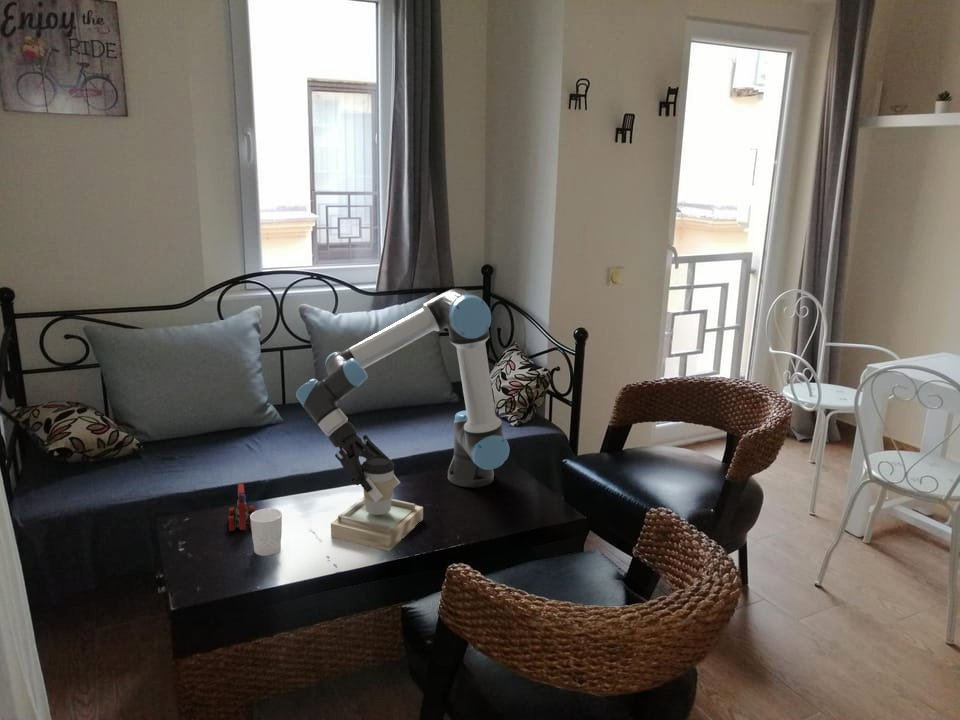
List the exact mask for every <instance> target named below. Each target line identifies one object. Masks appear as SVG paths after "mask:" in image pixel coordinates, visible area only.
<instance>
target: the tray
mask: <svg viewBox="0 0 960 720" xmlns="http://www.w3.org/2000/svg"><path fill="white" fill-rule="evenodd" d="M423 520H424V507H423V506H420V505H417V504H416V503H413V502H408V501H403V500H399V499H394V498H391V510H390V511H389V512H388V513H386V514H381V515H374V514H370V513H368V512H367V511H366V505H365V497H364V496H363V497H362V498H360V499H359V500H358V501H357V502H355V503H354V504H352V505H351V506H350V507H348V508H347V509H345V510H343V512H342V513H340V514H339V515H338V516H337V518H336V519H335V520H333V521H332V522H331V523H330V537H331V538H334V537H335V539H339V540H342V539H343V541H347V542H350V543H353V544H354V543H355V544H359V545H363V546H366V547H371V548H375V549H378V550H382V551H386V552H390V551H391V550H392V549H393V548H395V546H396V545H397V544H398V543H400V542H401V541H402V540H403V539H404V538H405V537H406V536H408V535H409V533H411V531H413V530H414V528H416V527H417V526H418V525H419V524H420V523H421V522H422V521H423ZM419 522H420V523H419ZM418 523H419V524H418ZM417 524H418V525H417ZM416 525H417V526H416ZM415 526H416V527H415ZM402 538H403V539H402ZM401 539H402V540H401Z"/></svg>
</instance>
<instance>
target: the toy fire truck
mask: <svg viewBox="0 0 960 720" xmlns="http://www.w3.org/2000/svg"><path fill="white" fill-rule="evenodd" d="M237 498H238V499H237V502H236V504H237V507H236V508H235V507H230V508H228V531H229V532H235V531H236V529H237V528H239V530H240V531H243V530H246V529H247V526H246V525H248V528H249V529H251V520H250V515H251V514H252V513H253V512H255V511H256V510H255V505H249V506H247V505H246V504H247V502H246V500H247V496H246V494H245V484H244V483H238V484H237Z"/></svg>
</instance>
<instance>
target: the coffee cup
mask: <svg viewBox="0 0 960 720" xmlns="http://www.w3.org/2000/svg"><path fill="white" fill-rule="evenodd" d="M385 455H386V454H385ZM385 455H377V456H374V457H370V458H367V459H366V458H365V459H366V460H364V461H363V462H362V464H361V466H362V469H363V472H364V474H365V477H366V479H367V478H368V477H369V479H370V480H371V481H372V483H373V484H374V485H375V486H376V488H377V489H378V490H379V491H380V493H381V494H382V495H383V497H382V498H380V499H379V500H378V501H377V502H375V501H374V500H373V498H372V497H371V496H370V495H369V493H367V492H366V491H365V489H364V488H363V497H365V505H366V511H367V512H368V513H370V514H374V515H381V514H386V513H388V512H389V511H390V510H391V499H393V494H394V493H393V492H394V488H393V481H394V475H395V473H394V472H395V463H394V461H392V460H391V459H390V457H388V456H387V455H386V456H387V457H388V458H387V457H386V456H385ZM393 474H394V475H393Z"/></svg>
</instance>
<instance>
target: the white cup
mask: <svg viewBox="0 0 960 720" xmlns="http://www.w3.org/2000/svg"><path fill="white" fill-rule="evenodd" d="M282 518H283V515H282V511H281V510H279V509H277V508H272V507H271V508H269V507H268V508H261V509H257V510H255V512H253V513H252V514H251V515H250V520H251V530H250V531H251V538H252V543H253V551H254V553H255V554H256V555H257V556H261V557H266V556H267V557H269V556H273V555H275V554H278V553H279V552H280V551H281V549H282V547H281V546H282V528H283V527H282V524H283V523H282V522H283V519H282Z"/></svg>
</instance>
